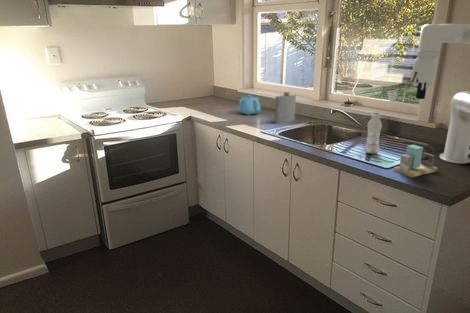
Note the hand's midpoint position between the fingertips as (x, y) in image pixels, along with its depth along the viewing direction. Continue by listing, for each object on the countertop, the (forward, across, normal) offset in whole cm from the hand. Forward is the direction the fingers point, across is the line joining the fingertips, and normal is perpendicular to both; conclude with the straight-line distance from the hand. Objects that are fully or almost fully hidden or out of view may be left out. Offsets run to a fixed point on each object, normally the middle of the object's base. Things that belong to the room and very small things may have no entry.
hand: (420, 98), depth 161 cm
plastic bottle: (+29, +8, -16) cm, 34 cm away
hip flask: (+29, +9, -91) cm, 96 cm away
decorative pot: (+29, +18, -125) cm, 130 cm away
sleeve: (+26, +11, +10) cm, 30 cm away
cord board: (+29, +9, +10) cm, 32 cm away
